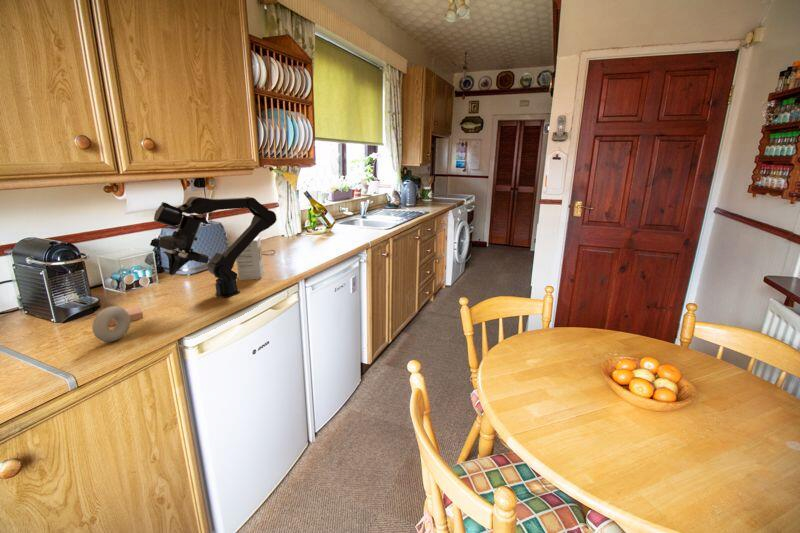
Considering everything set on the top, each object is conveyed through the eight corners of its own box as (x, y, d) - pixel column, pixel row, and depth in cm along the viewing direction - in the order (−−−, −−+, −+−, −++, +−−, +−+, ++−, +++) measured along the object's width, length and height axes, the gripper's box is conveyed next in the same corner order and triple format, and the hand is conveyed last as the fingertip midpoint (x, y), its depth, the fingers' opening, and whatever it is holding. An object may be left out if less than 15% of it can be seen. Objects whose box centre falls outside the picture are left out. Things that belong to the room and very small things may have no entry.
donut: (103, 349, 101) (95, 315, 99) (93, 347, 102) (84, 314, 100) (136, 333, 111) (129, 301, 108) (127, 332, 112) (120, 300, 109)
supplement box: (261, 278, 160) (257, 240, 155) (238, 280, 158) (233, 241, 154) (264, 272, 169) (260, 236, 164) (242, 274, 167) (237, 237, 163)
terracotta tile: (137, 305, 127) (104, 312, 121) (142, 312, 121) (107, 320, 115) (139, 312, 127) (106, 319, 122) (143, 319, 122) (109, 327, 116)
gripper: (146, 218, 122) (128, 263, 121) (195, 235, 119) (178, 281, 118) (170, 225, 133) (154, 267, 132) (216, 241, 130) (200, 283, 129)
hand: (171, 274), depth 127 cm, fingers closed
